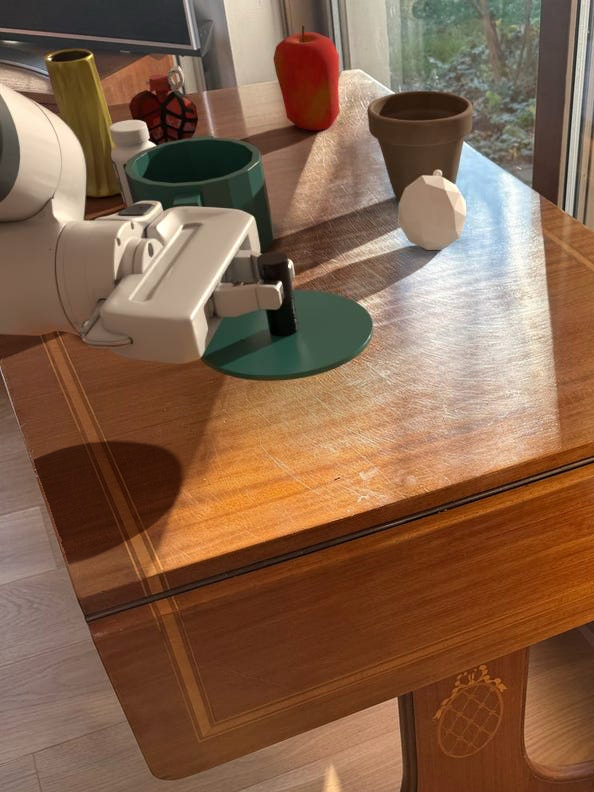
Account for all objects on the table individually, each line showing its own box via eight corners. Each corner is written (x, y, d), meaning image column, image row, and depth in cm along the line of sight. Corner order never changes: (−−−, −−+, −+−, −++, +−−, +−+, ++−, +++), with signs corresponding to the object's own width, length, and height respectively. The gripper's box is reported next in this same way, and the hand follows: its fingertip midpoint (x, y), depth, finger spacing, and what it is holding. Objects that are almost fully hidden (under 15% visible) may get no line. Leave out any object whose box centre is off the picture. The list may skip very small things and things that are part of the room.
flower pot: (460, 175, 119) (457, 83, 111) (486, 211, 111) (485, 114, 104) (367, 187, 117) (357, 94, 109) (386, 224, 109) (378, 127, 102)
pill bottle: (182, 204, 114) (162, 122, 108) (149, 220, 111) (127, 136, 105) (149, 195, 116) (128, 114, 110) (116, 211, 113) (93, 128, 107)
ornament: (384, 246, 105) (395, 168, 103) (448, 263, 107) (460, 186, 106) (403, 235, 98) (415, 151, 97) (471, 253, 101) (483, 171, 100)
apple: (293, 114, 136) (279, 16, 128) (352, 115, 135) (341, 16, 127) (275, 135, 130) (259, 34, 122) (337, 137, 129) (325, 34, 121)
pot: (136, 286, 100) (111, 200, 94) (158, 212, 113) (138, 133, 107) (270, 276, 100) (255, 191, 94) (277, 204, 114) (263, 125, 108)
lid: (188, 394, 76) (165, 307, 71) (205, 307, 86) (186, 225, 81) (377, 381, 77) (368, 294, 72) (371, 296, 87) (363, 215, 82)
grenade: (206, 158, 125) (187, 71, 118) (141, 165, 124) (119, 77, 117) (205, 145, 128) (187, 59, 121) (142, 151, 127) (120, 65, 120)
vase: (69, 195, 117) (27, 61, 107) (100, 176, 121) (62, 45, 111) (112, 200, 116) (74, 65, 106) (142, 181, 120) (107, 49, 110)
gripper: (55, 302, 69) (247, 306, 68) (148, 192, 84) (307, 194, 83) (82, 382, 74) (262, 387, 73) (166, 264, 88) (317, 267, 87)
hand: (287, 283), depth 78 cm, fingers closed on lid, 2 cm apart
